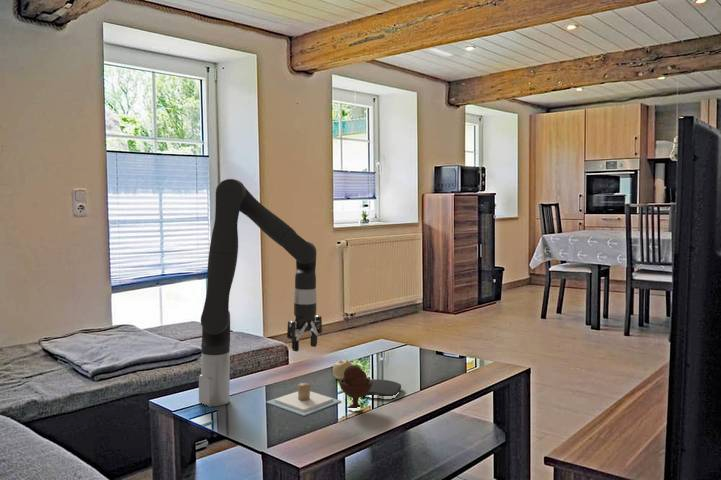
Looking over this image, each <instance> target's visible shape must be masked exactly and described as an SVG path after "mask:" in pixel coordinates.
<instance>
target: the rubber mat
mask: <svg viewBox="0 0 721 480" xmlns="http://www.w3.org/2000/svg"><path fill="white" fill-rule="evenodd" d="M295 392H298V390H297V391H293V392H291V393H289V394H292V393H295ZM310 392H314V391H312V390H310ZM314 393H317V394H320V395H323V396H326V397H329V398H333V401H332V402H329V403H326V404H324V405H321V406H318V407H315V408H313V409H310V410H307V411H305V412H303V411H300V410H297V409H294V408H291V407H289V406H286V405H283V404H280V403H277V402H275V399H277V398H280V397H283V396H286V395H289V394H285V395H282V396H279V397H276V398H273V399H271V400H270V399H269V400H267V401H265V403H266V404H269V405H271V406H274V407H275V408H276V407H277V408H279V409H282V410H286V411H288V412H292V413H294V414H295V415H298V416H299V415H300V416H302V417H306V416H309V415H310V414H313V413H316V412H318V411H322V410H324V409H326V408H329V407H332V406H334V405H337V404H339V403H342V400H340V399H336V398H334V397H331V396H328V395H324V394H322V393H319V392H314Z"/></svg>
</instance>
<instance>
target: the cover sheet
mask: <svg viewBox="0 0 721 480" xmlns="http://www.w3.org/2000/svg"><path fill="white" fill-rule="evenodd" d="M297 391H298V392H297ZM297 391H294V392H295V393H294V392H291V393H292V394H291V393H289V395H288V394H285V395H286V396H285V395H282V396H283V397H282V396H279V397H280V398H279V397H276V398H277V399H276V398H274V399H275V402H277V403H280V404H283V405H286V406H289V407H291V408H294V409H297V410H300V411H303V412H305V411H307V410H310V409H313V408H315V407H318V406H321V405H324V404H326V403H329V402H332V401H333V398H334V397H331V398H329V397H330V396H328V397H326V396H327V395H324V394H321V393H318V392H315V393H314V391H312V392H310V391H311V384H310V383H308V382H300V383H298V384H297ZM317 393H318V394H317ZM320 394H321V395H320ZM323 395H324V396H323Z"/></svg>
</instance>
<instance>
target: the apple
mask: <svg viewBox="0 0 721 480" xmlns="http://www.w3.org/2000/svg"><path fill="white" fill-rule="evenodd" d="M351 365H353V364H352V363H351V361H349V360H348V359H342V360H337V361H336V362H335V363H334V364H333V367H332V374H333V377H334V378H335V379H337V380H338V381H340V380H341V379H342V378H343V377H344V371H345V369H346V368H347V367H349V366H351Z"/></svg>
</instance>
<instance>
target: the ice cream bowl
mask: <svg viewBox="0 0 721 480" xmlns="http://www.w3.org/2000/svg"><path fill="white" fill-rule="evenodd" d="M367 376H368V375H367V373H366V372H365V371H364V370H363V369H362V368H361V367H360V366H358V365H357V364H356V365H355V364H354V365H353V364H352V365H351V366H349V367H347V368H346V369H345V371H344V377H343V378H342V379H341V380H338V383H339V386H340V390H341V391H342V392H343V393H344V394H345V395H346V396H348V397H350V398H352V404H351V405H348V407H347V408H357V407H360V405H361V404H359V399H360V398H363V397H362V396H364V395H365V394H366V393H367V392H368V391H369V390H370V389H371V387H372V384H373V381H372V380H373V379H372V378H368V377H367Z"/></svg>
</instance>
